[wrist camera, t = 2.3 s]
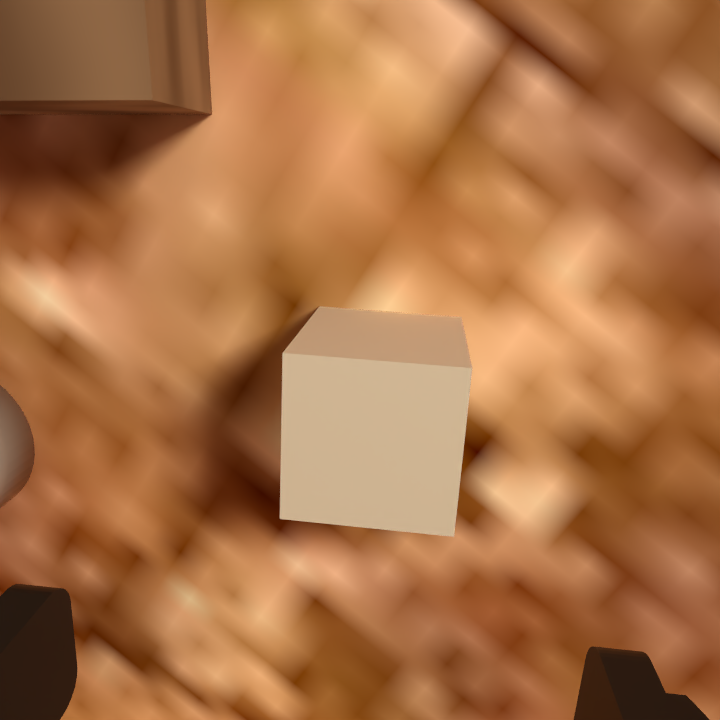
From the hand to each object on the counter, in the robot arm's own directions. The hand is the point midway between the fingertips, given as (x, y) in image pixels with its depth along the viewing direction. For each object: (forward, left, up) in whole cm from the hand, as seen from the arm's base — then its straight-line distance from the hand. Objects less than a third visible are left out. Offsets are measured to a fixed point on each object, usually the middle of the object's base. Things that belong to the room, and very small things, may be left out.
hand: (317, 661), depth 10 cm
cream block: (0, 0, -14) cm, 14 cm away
